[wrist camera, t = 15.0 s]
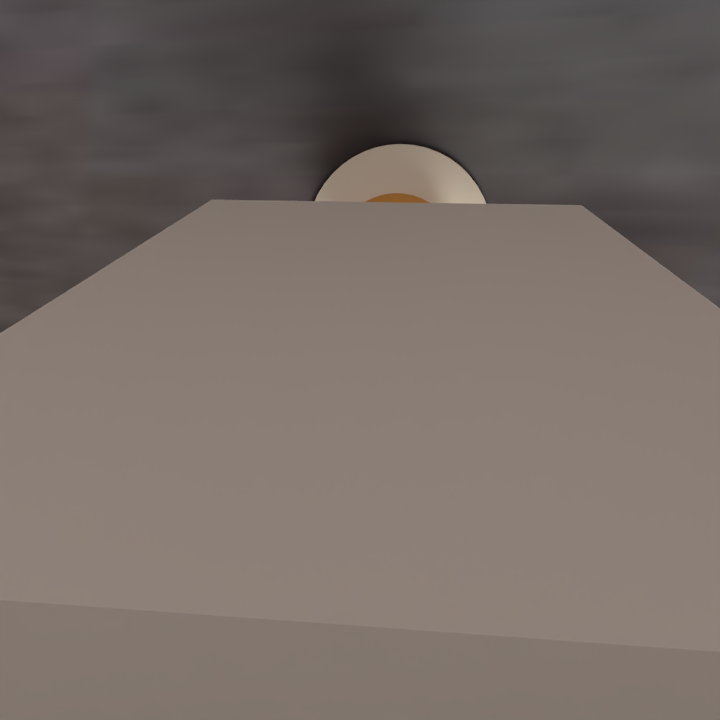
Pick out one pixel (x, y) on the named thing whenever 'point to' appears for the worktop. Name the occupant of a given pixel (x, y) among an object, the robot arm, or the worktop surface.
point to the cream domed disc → (401, 177)
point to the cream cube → (364, 474)
